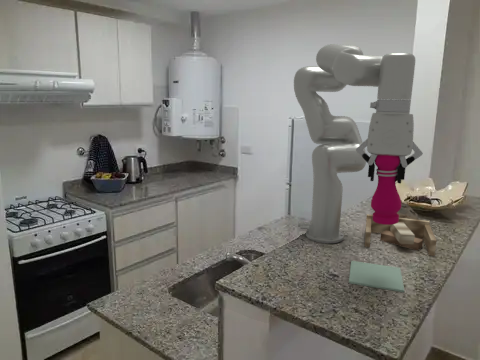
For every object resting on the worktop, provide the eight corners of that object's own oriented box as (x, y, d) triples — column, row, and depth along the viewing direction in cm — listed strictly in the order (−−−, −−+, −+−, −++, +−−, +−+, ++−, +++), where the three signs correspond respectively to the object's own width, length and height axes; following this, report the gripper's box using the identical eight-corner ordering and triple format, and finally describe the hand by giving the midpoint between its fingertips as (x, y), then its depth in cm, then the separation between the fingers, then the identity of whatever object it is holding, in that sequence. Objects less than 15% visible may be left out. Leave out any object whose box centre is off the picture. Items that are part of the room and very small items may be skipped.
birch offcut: (390, 230, 125) (390, 221, 125) (402, 230, 125) (403, 222, 124) (399, 243, 114) (401, 234, 113) (413, 244, 113) (414, 235, 112)
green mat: (348, 283, 94) (348, 281, 94) (351, 262, 106) (351, 260, 106) (404, 292, 90) (404, 290, 90) (400, 269, 102) (400, 267, 102)
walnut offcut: (380, 241, 123) (380, 233, 122) (385, 238, 126) (385, 230, 125) (417, 252, 115) (418, 243, 114) (422, 248, 118) (423, 239, 117)
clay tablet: (382, 208, 160) (377, 221, 142) (384, 197, 159) (379, 209, 141) (418, 214, 154) (417, 228, 136) (420, 202, 153) (419, 215, 135)
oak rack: (364, 246, 117) (366, 228, 116) (365, 230, 132) (366, 214, 131) (434, 256, 111) (437, 237, 110) (426, 237, 126) (429, 220, 124)
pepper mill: (365, 221, 95) (366, 144, 90) (378, 214, 100) (380, 140, 95) (393, 227, 90) (396, 145, 85) (405, 219, 94) (408, 142, 90)
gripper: (354, 107, 87) (348, 181, 91) (435, 109, 82) (425, 187, 86) (356, 106, 94) (350, 175, 98) (430, 108, 89) (421, 181, 93)
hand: (385, 180), depth 92 cm, fingers closed on pepper mill, 5 cm apart
